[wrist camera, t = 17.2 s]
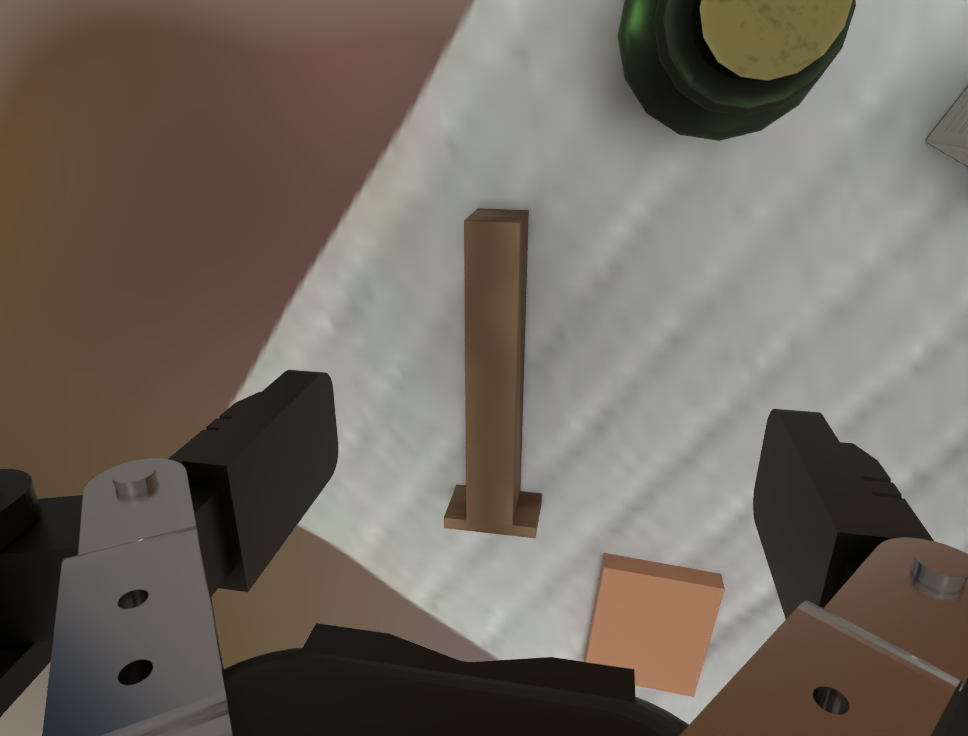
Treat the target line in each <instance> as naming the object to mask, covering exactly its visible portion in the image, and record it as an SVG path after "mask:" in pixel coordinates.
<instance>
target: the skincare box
mask: <svg viewBox="0 0 968 736" xmlns="http://www.w3.org/2000/svg"><path fill="white" fill-rule="evenodd" d="M927 143H929V144H930V145H932V146H934V147H935V148H937V149H939V150H941V151H942V152H944V153H946V154H948V155H949V156H951V157H953V158H955V159H956V160H958V161H960V162H962V163H964V164H965V165H967V166H968V87H967V88H966V90H965V91H964V92H963V94H962V95H961V96H960V97H959V99H958V100H957V101H956V103H955V104H954V105H953V107H952V108H951V109H950V110H949V112H948V113H947V114H946V115H945V117H944V118H943V119H942V120H941V122H940V123H939V124H938V125H937V127H936V128H935V129H934V131H933V132H932V133H931V134H930V136H929V137H928V138H927Z"/></svg>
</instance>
